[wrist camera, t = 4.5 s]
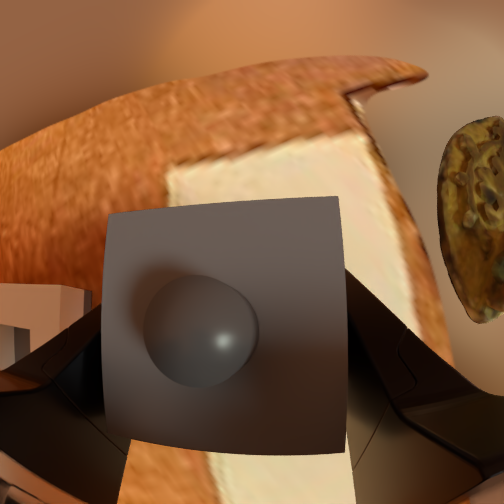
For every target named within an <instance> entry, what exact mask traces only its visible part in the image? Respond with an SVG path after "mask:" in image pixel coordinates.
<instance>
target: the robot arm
mask: <svg viewBox="0 0 504 504" xmlns="http://www.w3.org/2000/svg"><path fill="white" fill-rule="evenodd" d="M345 280H346V300H347V328H348V395H347V423H346V432H347V438H348V445H349V451H350V458H351V465H352V471H353V472H352V473H353V481H354V489H355V497H356V504H504V396H498V395H493V394H489V393H487V392H485V391H483V390H481V389H479V388H478V387H476V386H475V385H474V384H472V383H471V382H470V381H469V380H467V379H466V378H465V377H464V376H463V375H461V374H460V373H459V372H458V371H457V370H455V369H454V368H453V367H452V366H450V365H449V364H448V363H447V362H446V361H444V360H443V359H442V358H441V357H439V356H438V355H437V354H436V353H435V352H434V351H432V350H431V349H430V348H429V347H428V346H427V345H426V344H425V343H424V342H423V341H421V340H420V339H419V338H418V337H417V336H416V335H415V334H414V333H413V332H412V331H411V330H410V329H409V328H408V329H407V326H406V325H405V324H404V323H403V322H402V321H401V320H400V319H399V318H398V317H397V316H396V315H395V314H393V313H392V312H391V311H390V310H389V309H388V308H387V307H386V306H385V305H384V304H383V303H382V302H381V301H380V300H379V299H378V298H377V297H376V296H375V295H374V294H372V293H371V292H370V291H369V290H368V289H367V288H366V287H365V286H364V285H363V284H362V283H361V282H360V281H359V280H357V279H356V278H355V277H354V276H353V275H352V274H351V273H350V272H349V271H348V270H347V269H345ZM101 311H102V303H101V304H99V305H98V306H97V307H95V308H94V309H92V310H91V311H90V312H88V313H87V314H85V315H84V316H83V317H81V318H80V319H78V320H77V321H76V322H74V323H73V324H71V325H70V326H69V328H66V329H64V330H63V331H62V332H60V333H59V334H58V335H56V336H55V337H53V338H52V339H50V340H49V341H48V342H46V343H45V344H43V345H42V346H40V347H39V348H37V349H36V350H34V351H32V352H31V353H29V354H28V355H26V356H25V357H23V358H22V359H20V360H19V361H17V362H15V363H14V364H12V365H11V366H9V367H8V368H6V369H4V370H1V371H0V504H117V501H118V496H119V491H120V486H121V482H122V477H123V473H124V469H125V464H126V460H127V455H128V451H129V447H130V443H131V439H129V438H125V437H121V436H117V435H113V434H109V433H107V426H106V416H105V406H104V393H103V377H102V351H101Z"/></svg>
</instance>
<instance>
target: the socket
mask: <svg viewBox="0 0 504 504" xmlns="http://www.w3.org/2000/svg"><path fill="white" fill-rule="evenodd" d="M91 297H92V291H88V290H83V289H78V288H74V287H69V286H64V285H46V284H11V283H0V371H1V370H4V369H6V368H8V367H9V366H11V365H12V364H14V363H15V362H17V361H19V360H20V359H22V358H23V357H25V356H26V355H28V354H29V353H31V352H32V351H34V350H36V349H37V348H39V347H40V346H42V345H43V344H45V343H46V342H48V341H49V340H50V339H52V338H53V337H55V336H56V335H58V334H59V333H60V332H62V331H63V330H64V329H66V328H69V326H70V325H71V324H73V323H74V322H76V321H77V320H78V319H80V318H81V317H83V316H84V315H85V314H87V313H88V312H90V311H91Z"/></svg>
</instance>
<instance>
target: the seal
mask: <svg viewBox="0 0 504 504" xmlns="http://www.w3.org/2000/svg"><path fill="white" fill-rule="evenodd" d="M437 216H438V228H439V235H440V248H441V253H442V257H443V260H444V264H445V266H446V268H447V271H448V276H449V278H450V281H451V284H452V286H453V288H454V290H455V292H456V295H457V296H458V299H459V300H460V302H461V303H462V305H463V306H464V308H465V311H466V313H467V315H468V317H469V318H470V319H471V320H472V321H473V322H475V323H478V324H482V323H487V322H490V321H493V320H495V319H497V318H498V317H499V316H500V315H502V314H503V313H504V120H503V118H501V117H499V116H493V117H487V118H484V119H481V120H476V121H473V122H471V123H469V124H466V125H465V126H463V127H462V128H461V129H459V130H458V131H457V132H456V133H455V134H454V135H453V136H452V137H451V138H450V140H449V141H448V143H447V145H446V147H445V150H444V152H443V156H442V160H441V164H440V168H439V175H438V182H437Z"/></svg>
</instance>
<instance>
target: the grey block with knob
mask: <svg viewBox="0 0 504 504" xmlns="http://www.w3.org/2000/svg"><path fill="white" fill-rule="evenodd" d="M101 351H102V377H103V393H104V406H105V416H106V426H107V433H109V434H113V435H117V436H121V437H125V438H129V439H134V440H138V441H143V442H148V443H153V444H159V445H165V446H170V447H177V448H184V449H191V450H199V451H208V452H218V453H230V454H245V455H318V454H333V453H345V441H346V423H347V395H348V328H347V300H346V280H345V265H344V251H343V239H342V228H341V218H340V208H339V199H338V196H328V197H304V198H284V199H266V200H251V201H236V202H223V203H211V204H199V205H188V206H177V207H167V208H158V209H148V210H139V211H130V212H122V213H114V214H109V217H108V225H107V234H106V244H105V255H104V268H103V284H102V311H101Z"/></svg>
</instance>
